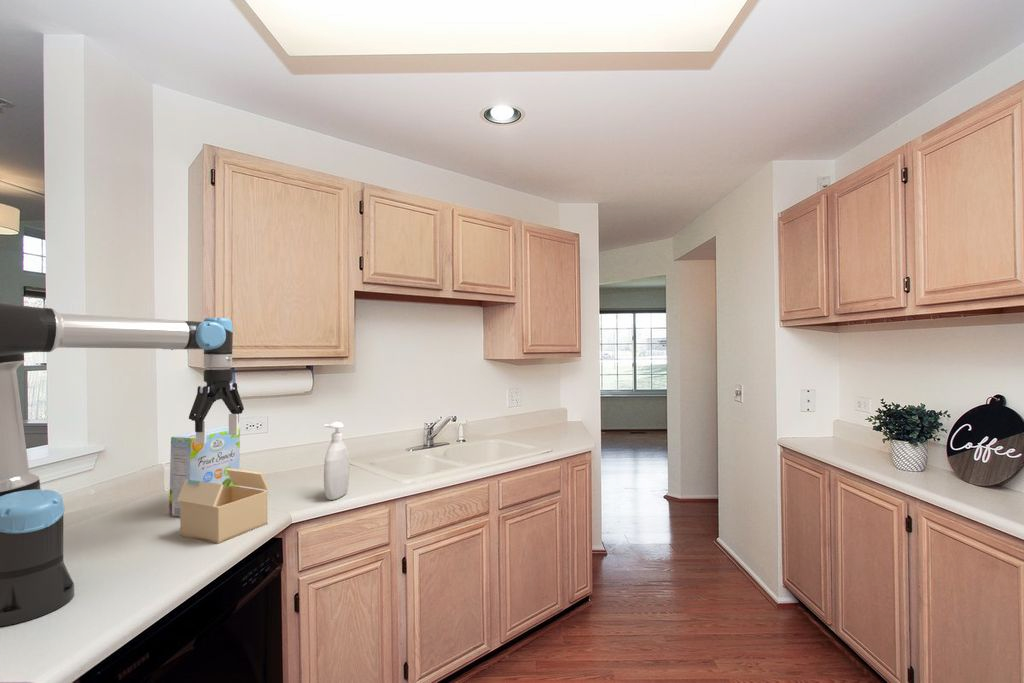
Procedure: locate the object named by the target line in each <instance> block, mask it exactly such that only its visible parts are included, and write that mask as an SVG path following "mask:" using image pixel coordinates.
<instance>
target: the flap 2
mask: <svg viewBox="0 0 1024 683" xmlns="http://www.w3.org/2000/svg"><path fill="white" fill-rule="evenodd" d="M226 471H227V473H228V475H229V477H230V479H231V481H232V483H233V485H238V486H239V487H244V488H250V489H257V490H264V491H268V490H269V489H270V487H269V484H268V482H267V480H266V478H265V475H264V472H260V471H255V470H245V469H240V468H239V469H231V468H228V469H226Z"/></svg>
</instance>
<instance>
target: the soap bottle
mask: <svg viewBox="0 0 1024 683" xmlns="http://www.w3.org/2000/svg"><path fill="white" fill-rule="evenodd" d="M323 426H324V428H330V429H335V430H334V432H332V434H331V441H330V444H329V446H328V448H327V450H326V455H325V458H324V465H323V490H324V494H325V496H326V499H327V500H330V501H333V500H334V501H336V500H337V499H340V498H341V497H343V496H345V495H346V494H347V493H348V491H349V490H348V489H349V484H350V483H349V482H350V468H351V466H350V463H351V462H350V455H349V454H350V453H349V451H348V448H347V445H346V444H345V442H344V441H343V433H342V432H341V431H340V430H339V429H342V428H344V427H345V426H344V424H343V422H340V421H334V422H332V423H331V424H330V423H329V424H324V425H323ZM339 431H340V432H339ZM335 499H336V500H335Z"/></svg>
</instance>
